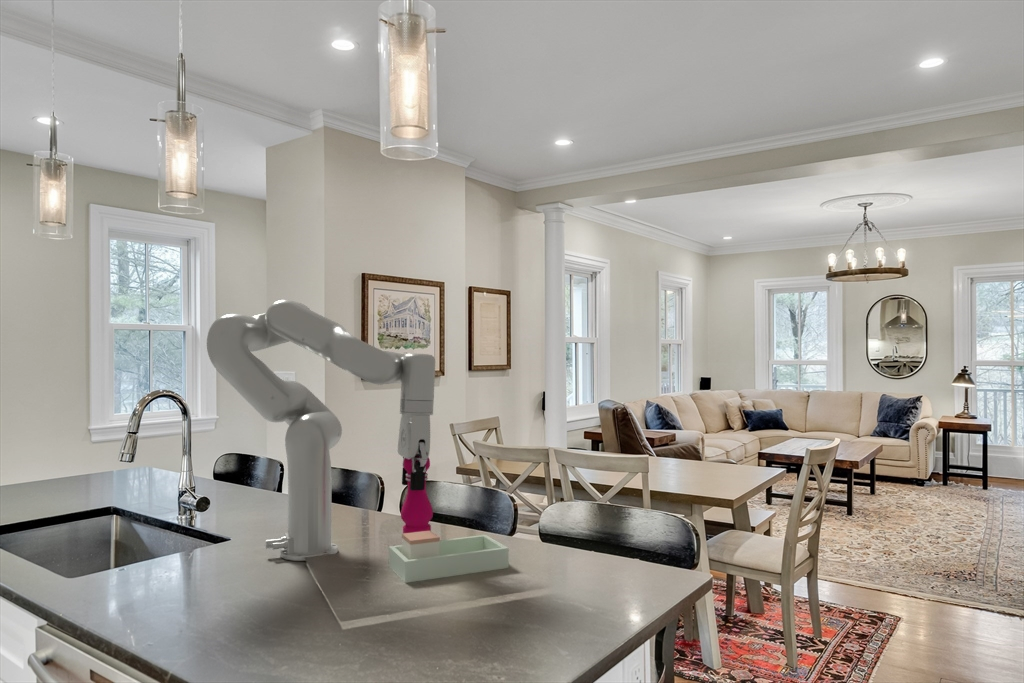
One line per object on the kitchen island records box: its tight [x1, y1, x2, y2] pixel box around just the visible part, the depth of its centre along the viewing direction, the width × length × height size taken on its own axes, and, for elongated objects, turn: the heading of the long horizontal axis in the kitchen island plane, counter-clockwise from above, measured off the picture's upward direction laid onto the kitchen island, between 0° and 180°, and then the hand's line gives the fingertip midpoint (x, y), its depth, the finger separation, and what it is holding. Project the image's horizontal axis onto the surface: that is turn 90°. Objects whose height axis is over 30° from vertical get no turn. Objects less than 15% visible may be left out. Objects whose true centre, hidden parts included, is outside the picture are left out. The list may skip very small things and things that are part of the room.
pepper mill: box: [400, 456, 434, 534], centre depth 153 cm, size 7×7×20 cm
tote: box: [388, 534, 510, 584], centre depth 139 cm, size 22×12×5 cm, turn 115°
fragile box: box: [401, 530, 441, 560], centre depth 137 cm, size 6×6×7 cm
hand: (412, 486), depth 152 cm, fingers closed on pepper mill, 5 cm apart
